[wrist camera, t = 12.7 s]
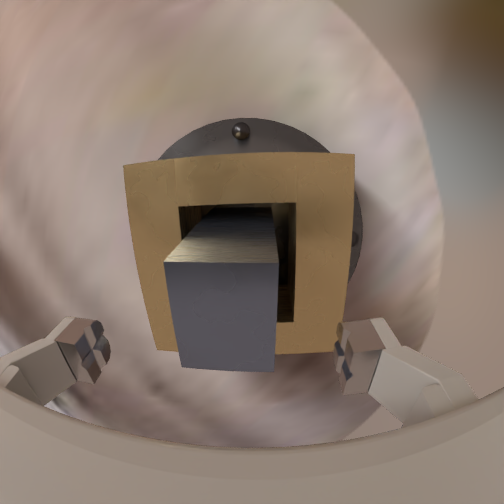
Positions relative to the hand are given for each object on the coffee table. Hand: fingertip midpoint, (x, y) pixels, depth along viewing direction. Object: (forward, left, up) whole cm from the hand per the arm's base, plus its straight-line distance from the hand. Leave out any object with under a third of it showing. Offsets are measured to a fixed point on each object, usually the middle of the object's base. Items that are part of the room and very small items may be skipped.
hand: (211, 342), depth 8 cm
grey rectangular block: (0, 0, -12) cm, 12 cm away
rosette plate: (0, 0, -13) cm, 13 cm away
